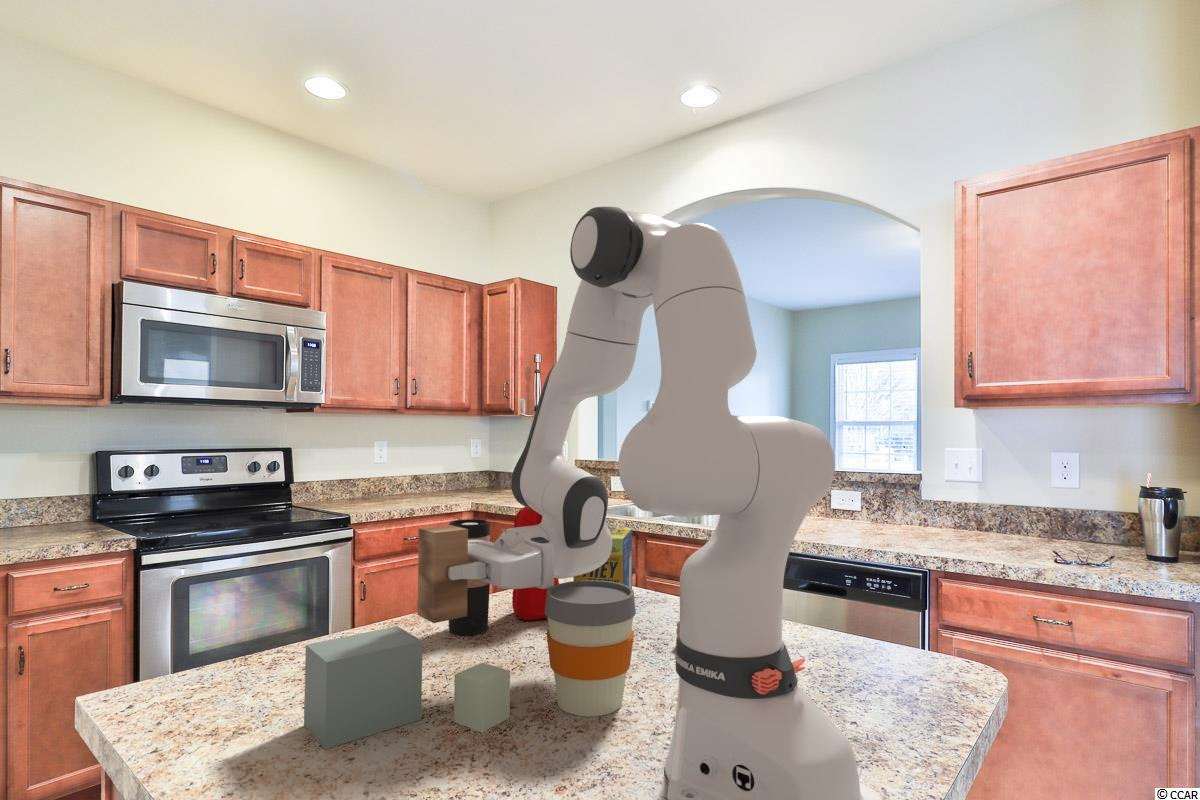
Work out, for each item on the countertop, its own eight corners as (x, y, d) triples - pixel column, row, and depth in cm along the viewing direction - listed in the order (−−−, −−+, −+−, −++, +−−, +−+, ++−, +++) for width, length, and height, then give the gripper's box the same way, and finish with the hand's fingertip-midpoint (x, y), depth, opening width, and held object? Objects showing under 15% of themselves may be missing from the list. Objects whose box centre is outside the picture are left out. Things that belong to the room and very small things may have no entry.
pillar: (467, 616, 89) (467, 529, 90) (433, 623, 86) (434, 532, 87) (450, 608, 93) (451, 525, 94) (417, 614, 90) (418, 528, 90)
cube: (509, 717, 84) (510, 670, 84) (482, 732, 79) (482, 683, 80) (481, 708, 86) (482, 662, 87) (453, 722, 82) (454, 674, 82)
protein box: (572, 613, 131) (572, 536, 132) (587, 594, 146) (587, 525, 147) (623, 616, 129) (623, 538, 130) (633, 596, 144) (633, 527, 145)
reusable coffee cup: (651, 694, 90) (651, 587, 91) (607, 732, 80) (607, 610, 80) (575, 675, 97) (576, 575, 97) (525, 708, 86) (526, 595, 86)
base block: (421, 719, 83) (422, 640, 83) (324, 749, 75) (326, 662, 75) (395, 699, 89) (396, 626, 89) (303, 725, 81) (305, 644, 81)
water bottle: (520, 626, 122) (521, 494, 123) (509, 610, 132) (510, 488, 134) (567, 621, 125) (567, 492, 126) (553, 607, 135) (554, 487, 137)
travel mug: (439, 634, 117) (440, 523, 118) (460, 622, 124) (461, 518, 125) (477, 638, 115) (478, 525, 116) (496, 625, 122) (497, 520, 123)
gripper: (485, 527, 106) (405, 536, 97) (560, 544, 91) (473, 557, 82) (485, 566, 106) (405, 578, 97) (560, 589, 90) (472, 607, 81)
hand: (436, 569), depth 89 cm, fingers closed on pillar, 5 cm apart
